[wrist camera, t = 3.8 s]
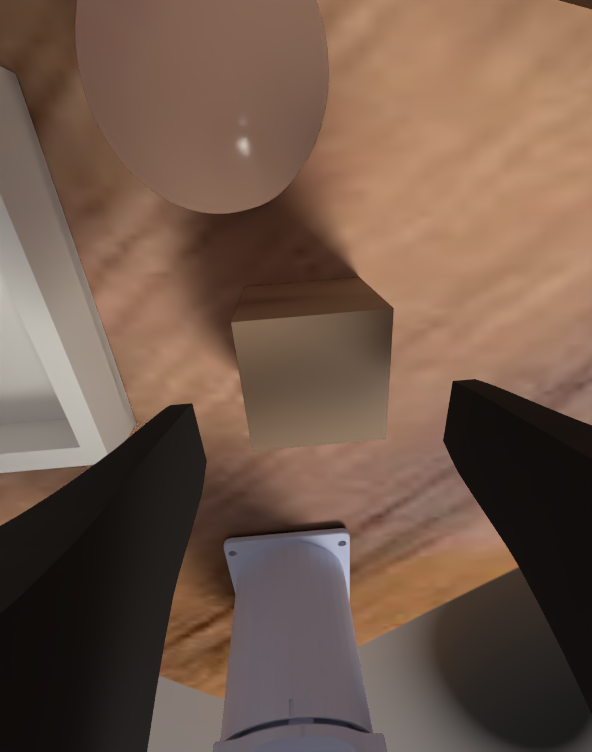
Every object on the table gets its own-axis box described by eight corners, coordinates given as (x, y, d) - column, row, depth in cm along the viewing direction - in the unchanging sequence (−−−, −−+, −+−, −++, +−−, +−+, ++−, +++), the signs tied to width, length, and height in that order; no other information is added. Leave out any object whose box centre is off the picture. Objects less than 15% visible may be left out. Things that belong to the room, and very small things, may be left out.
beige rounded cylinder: (309, 203, 13) (331, 205, 8) (183, 213, 13) (120, 221, 8) (302, 32, 11) (325, -123, 6) (149, 44, 11) (30, -101, 6)
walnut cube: (357, 377, 17) (385, 438, 13) (258, 386, 17) (252, 451, 13) (358, 276, 15) (393, 308, 10) (244, 286, 15) (231, 322, 10)
